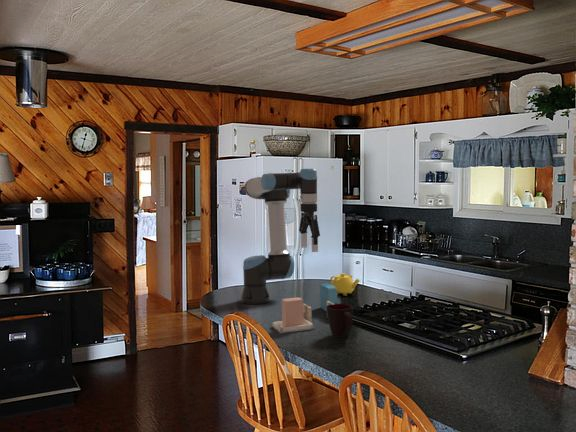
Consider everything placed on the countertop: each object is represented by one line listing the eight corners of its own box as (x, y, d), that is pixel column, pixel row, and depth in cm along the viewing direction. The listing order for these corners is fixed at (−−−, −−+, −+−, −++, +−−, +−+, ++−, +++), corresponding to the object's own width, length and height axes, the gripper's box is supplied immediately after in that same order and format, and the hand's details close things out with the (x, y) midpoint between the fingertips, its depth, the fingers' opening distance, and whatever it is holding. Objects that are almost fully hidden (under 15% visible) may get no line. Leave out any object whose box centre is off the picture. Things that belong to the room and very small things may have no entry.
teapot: (360, 295, 307) (360, 275, 306) (336, 297, 304) (335, 276, 303) (351, 290, 321) (351, 270, 320) (328, 291, 318) (328, 271, 317)
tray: (272, 326, 250) (272, 322, 250) (304, 322, 255) (304, 318, 255) (280, 333, 240) (280, 328, 240) (313, 329, 245) (313, 324, 245)
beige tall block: (282, 326, 248) (281, 299, 247) (299, 324, 251) (298, 297, 250) (286, 329, 244) (285, 301, 243) (303, 327, 246) (303, 299, 245)
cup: (345, 330, 242) (344, 302, 241) (361, 339, 229) (361, 310, 228) (323, 333, 238) (323, 305, 237) (339, 342, 225) (338, 312, 224)
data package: (337, 312, 272) (337, 287, 271) (328, 313, 271) (328, 288, 270) (328, 306, 284) (328, 282, 283) (320, 307, 282) (319, 283, 281)
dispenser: (302, 318, 262) (302, 303, 261) (328, 315, 266) (328, 301, 266) (309, 323, 254) (309, 307, 254) (336, 319, 259) (335, 304, 258)
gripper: (291, 201, 268) (292, 246, 270) (310, 205, 245) (311, 254, 247) (306, 200, 271) (307, 245, 273) (327, 204, 247) (327, 253, 249)
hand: (309, 249), depth 260 cm, fingers open, 13 cm apart
